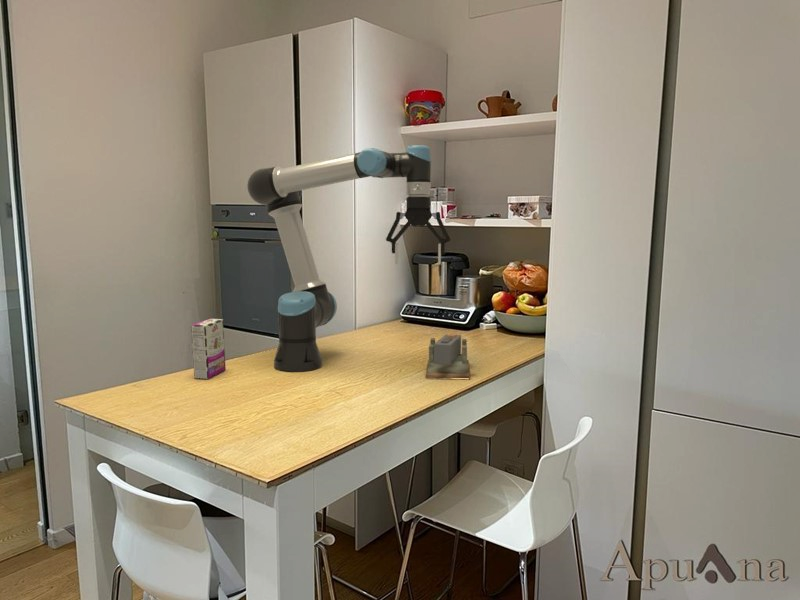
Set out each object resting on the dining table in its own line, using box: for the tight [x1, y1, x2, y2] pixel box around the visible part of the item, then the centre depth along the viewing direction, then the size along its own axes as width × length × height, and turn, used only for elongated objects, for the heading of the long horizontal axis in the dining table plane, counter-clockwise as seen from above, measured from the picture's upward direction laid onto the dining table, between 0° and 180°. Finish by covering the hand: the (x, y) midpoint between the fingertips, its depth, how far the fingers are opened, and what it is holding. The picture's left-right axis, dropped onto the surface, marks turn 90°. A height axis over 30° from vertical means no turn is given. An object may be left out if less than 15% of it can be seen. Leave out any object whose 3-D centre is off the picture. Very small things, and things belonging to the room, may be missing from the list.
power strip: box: [434, 333, 462, 365], centre depth 192 cm, size 5×16×6 cm, turn 163°
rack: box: [424, 337, 470, 379], centre depth 193 cm, size 13×20×9 cm, turn 175°
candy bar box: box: [190, 318, 227, 380], centre depth 187 cm, size 11×5×16 cm, turn 168°
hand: (418, 264), depth 197 cm, fingers open, 13 cm apart
